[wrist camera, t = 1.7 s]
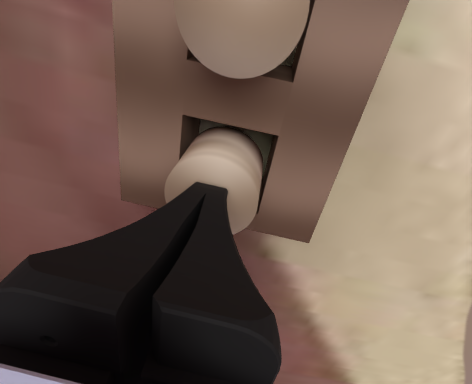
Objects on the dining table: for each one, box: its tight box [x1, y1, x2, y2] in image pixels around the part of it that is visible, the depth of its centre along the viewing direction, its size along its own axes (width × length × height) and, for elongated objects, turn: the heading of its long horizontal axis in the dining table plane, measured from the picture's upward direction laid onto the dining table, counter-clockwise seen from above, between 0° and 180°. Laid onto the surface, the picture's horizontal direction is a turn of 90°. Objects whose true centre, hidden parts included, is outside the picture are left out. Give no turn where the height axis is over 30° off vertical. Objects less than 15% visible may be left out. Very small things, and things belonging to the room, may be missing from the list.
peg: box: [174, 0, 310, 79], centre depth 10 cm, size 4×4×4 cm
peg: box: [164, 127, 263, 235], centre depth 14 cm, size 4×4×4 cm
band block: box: [112, 0, 409, 243], centre depth 15 cm, size 14×11×4 cm
